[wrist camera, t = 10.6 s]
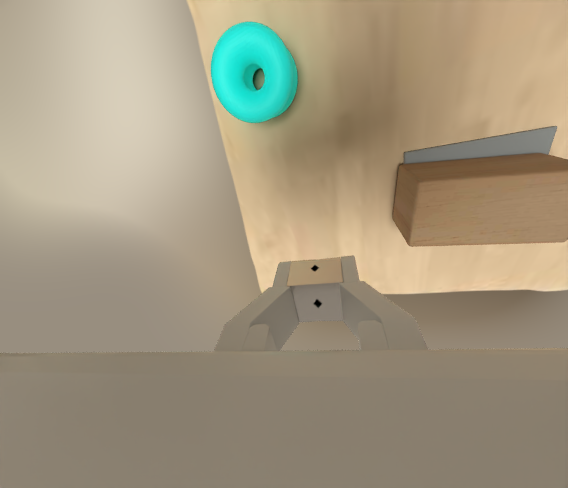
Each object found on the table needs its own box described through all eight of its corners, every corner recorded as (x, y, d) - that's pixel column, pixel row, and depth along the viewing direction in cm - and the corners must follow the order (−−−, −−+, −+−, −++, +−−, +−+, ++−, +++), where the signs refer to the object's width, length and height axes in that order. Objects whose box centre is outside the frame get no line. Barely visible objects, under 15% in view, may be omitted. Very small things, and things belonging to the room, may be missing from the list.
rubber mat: (404, 152, 39) (405, 152, 38) (553, 126, 34) (557, 126, 34) (400, 228, 46) (401, 230, 45) (525, 214, 41) (528, 216, 41)
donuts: (233, 137, 32) (190, 49, 27) (252, 129, 40) (221, 61, 36) (304, 101, 28) (268, -4, 24) (308, 100, 37) (281, 22, 33)
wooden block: (391, 219, 44) (516, 213, 41) (408, 247, 36) (567, 243, 32) (398, 163, 39) (541, 151, 36) (419, 181, 31) (609, 168, 27)
